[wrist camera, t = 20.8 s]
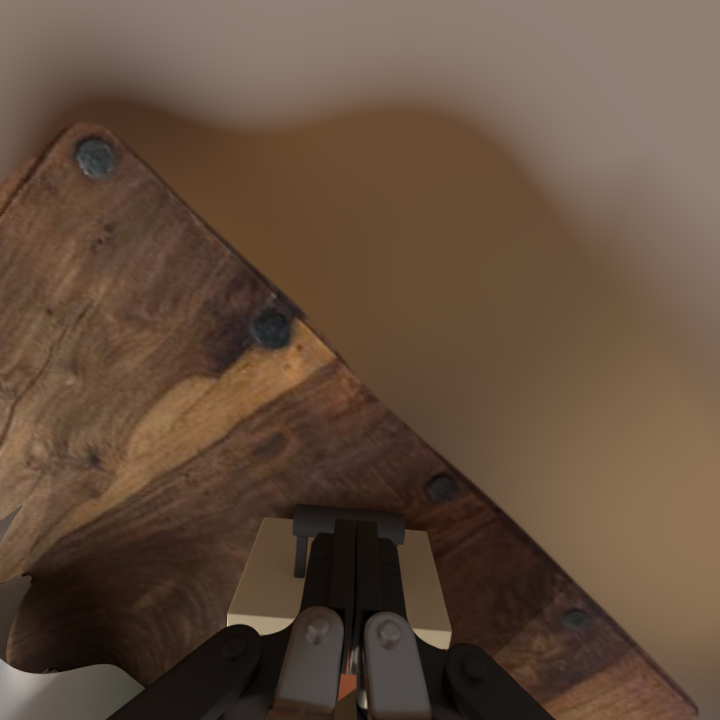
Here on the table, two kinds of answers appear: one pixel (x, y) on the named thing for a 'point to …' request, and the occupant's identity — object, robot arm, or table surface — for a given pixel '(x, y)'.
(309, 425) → the table surface
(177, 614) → the table surface
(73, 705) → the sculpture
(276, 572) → the drawer
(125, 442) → the table surface
